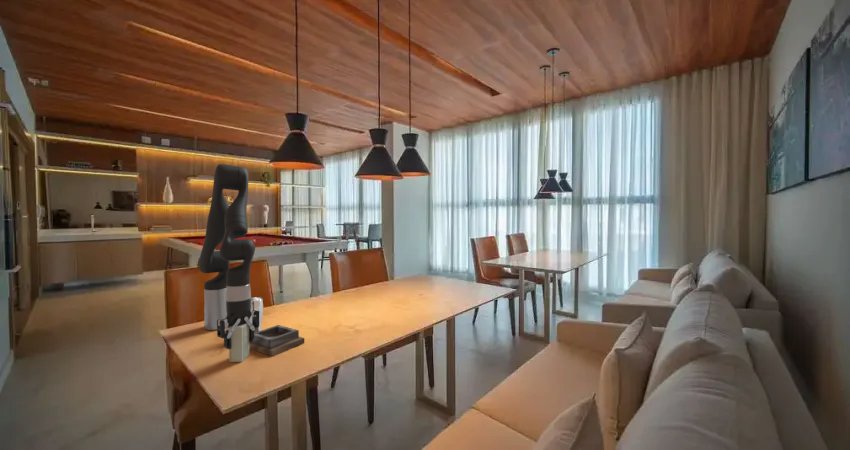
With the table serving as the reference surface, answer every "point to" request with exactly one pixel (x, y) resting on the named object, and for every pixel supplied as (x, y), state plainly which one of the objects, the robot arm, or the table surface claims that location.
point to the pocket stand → (275, 340)
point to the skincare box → (239, 343)
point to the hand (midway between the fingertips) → (239, 344)
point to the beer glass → (257, 305)
